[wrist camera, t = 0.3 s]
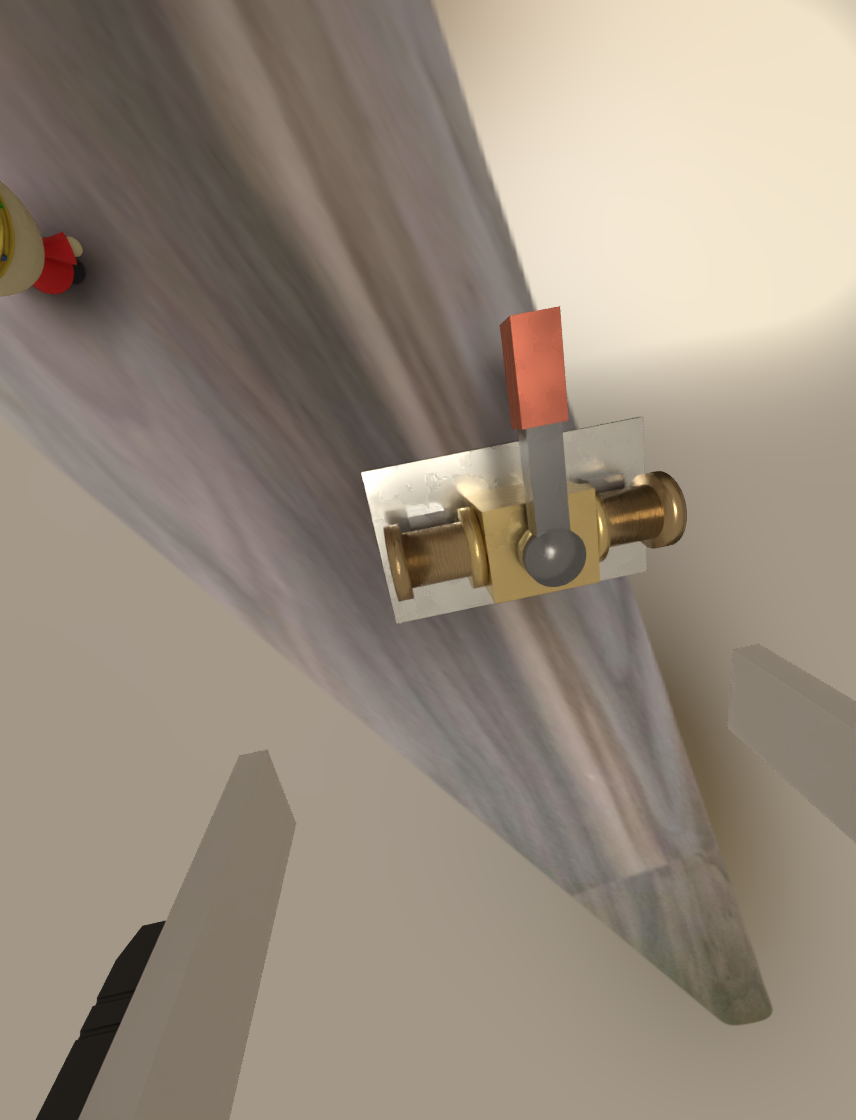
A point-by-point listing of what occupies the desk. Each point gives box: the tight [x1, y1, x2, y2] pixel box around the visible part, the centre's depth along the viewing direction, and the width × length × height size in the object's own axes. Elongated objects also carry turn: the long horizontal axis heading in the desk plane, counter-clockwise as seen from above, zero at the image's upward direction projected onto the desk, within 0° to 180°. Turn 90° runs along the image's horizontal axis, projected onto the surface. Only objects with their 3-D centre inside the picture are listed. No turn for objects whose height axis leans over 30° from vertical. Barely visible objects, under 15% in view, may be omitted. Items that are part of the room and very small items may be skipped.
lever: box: [500, 307, 586, 587], centre depth 26 cm, size 16×4×2 cm, turn 11°
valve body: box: [362, 417, 687, 623], centre depth 34 cm, size 24×14×8 cm, turn 101°
